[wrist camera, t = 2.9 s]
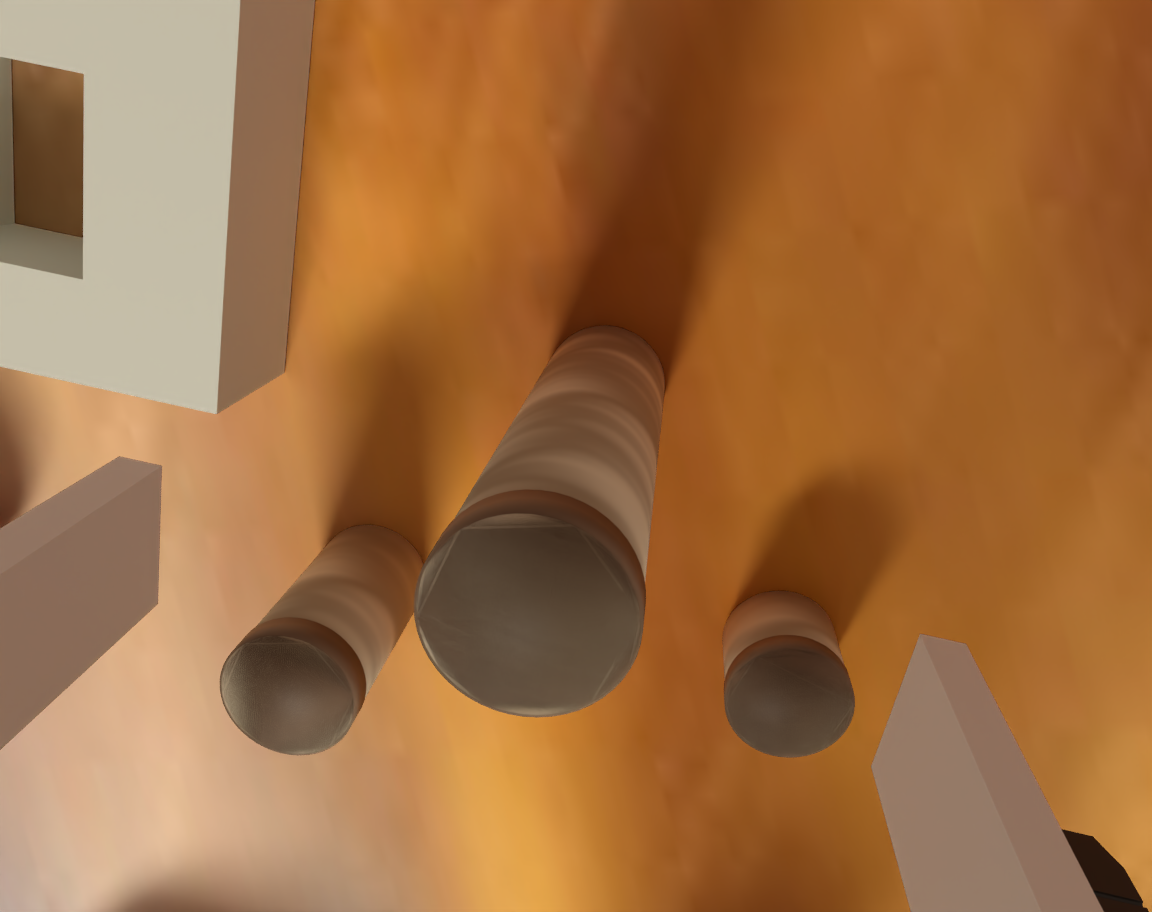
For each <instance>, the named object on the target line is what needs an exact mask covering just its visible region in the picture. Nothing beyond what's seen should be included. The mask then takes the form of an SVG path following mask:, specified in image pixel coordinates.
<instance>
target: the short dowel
mask: <svg viewBox="0 0 1152 912" xmlns="http://www.w3.org/2000/svg"><path fill="white" fill-rule="evenodd" d="M722 642H723V658H724V675H725V681H724V701H725V711H726V715H727V718H728V721H729V723H730V725H731V727H732V728H733V730H734V731H735V733H736V734H737V735H738V736H739V737H740V738H741V739H742V740H743V741H744V742H745V743H747V744H748V745H749V746H751V747H753V748H754V749H756V750H758V751H761V752H763V753H766V754H769V755H773V756H778V757H801V756H807V755H811V754H814V753H817V752H819V751H822V750H824V749H825V748H827V747H829V746H830V745H832V744H833V743H835V742H836V741H837V740H838V739H839V738H840V737H841V736H842V735H843V734H844V732H845V731H846V729H847V728H848V726H849V724H850V722H851V720H852V717H853V713H854V707H855V698H854V692H853V688H852V685H851V681H850V678H849V675H848V672H847V669H846V667H845V666H844V662H843V659H842V655H841V652H840V648H839V644H838V641H837V637H836V634H835V630H834V627H833V624H832V622H831V620H830V618H829V616H828V615H827V613H826V612H825V611H824V609H823V608H822V607H821V606H820V605H818V604H817V603H816V602H814V601H813V600H811V599H810V598H808V597H806V596H803V595H801V594H798V593H794V592H789V591H769V592H764V593H760V594H757V595H755V596H752V597H750V598H748V599H747V600H745V601H743V602H742V603H741V604H740V605H738V606H737V607H736V608H735V610H734V611H733V612H732V613H731V615H730V616H729V618H728V620H727V621H726V624H725V627H724V631H723V640H722Z"/></svg>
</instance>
